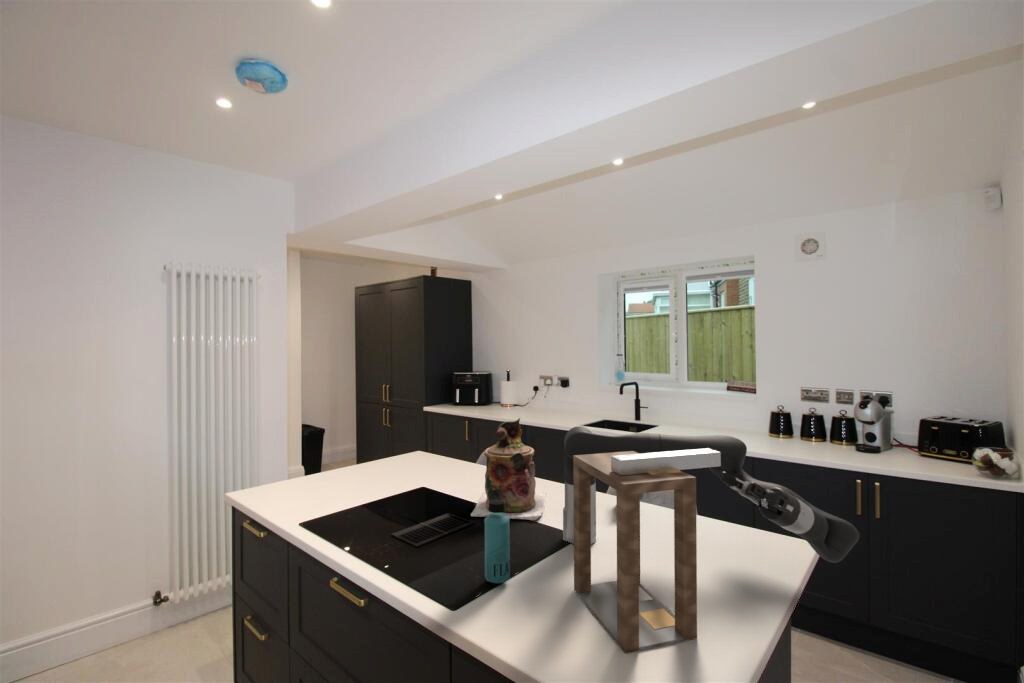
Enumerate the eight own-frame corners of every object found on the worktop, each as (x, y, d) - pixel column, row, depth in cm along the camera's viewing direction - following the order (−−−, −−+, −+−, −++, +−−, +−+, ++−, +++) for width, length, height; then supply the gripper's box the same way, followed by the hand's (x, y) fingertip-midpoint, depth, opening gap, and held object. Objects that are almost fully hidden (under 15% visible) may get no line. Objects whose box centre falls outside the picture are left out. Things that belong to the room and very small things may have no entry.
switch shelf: (633, 580, 117) (633, 450, 117) (697, 638, 94) (696, 476, 94) (574, 589, 113) (573, 454, 113) (625, 653, 89) (624, 483, 90)
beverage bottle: (491, 592, 112) (490, 507, 112) (479, 579, 117) (479, 499, 117) (515, 585, 115) (515, 503, 115) (503, 573, 120) (502, 495, 120)
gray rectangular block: (708, 461, 105) (708, 448, 105) (720, 466, 102) (720, 452, 102) (611, 470, 99) (610, 455, 99) (620, 475, 95) (620, 460, 95)
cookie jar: (483, 495, 183) (483, 412, 183) (547, 498, 179) (546, 413, 179) (468, 519, 158) (468, 423, 158) (542, 522, 155) (541, 425, 155)
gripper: (768, 487, 116) (720, 457, 112) (820, 506, 102) (767, 473, 99) (755, 515, 115) (706, 486, 111) (807, 538, 101) (753, 506, 98)
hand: (735, 480), depth 105 cm, fingers open, 8 cm apart
